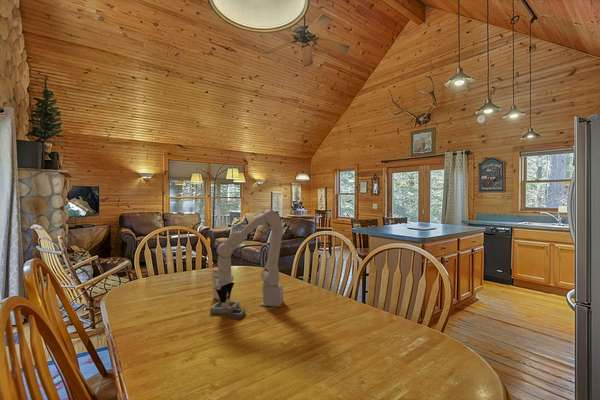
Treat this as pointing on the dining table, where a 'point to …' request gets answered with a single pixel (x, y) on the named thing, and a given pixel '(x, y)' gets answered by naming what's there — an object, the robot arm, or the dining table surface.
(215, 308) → the parts tray
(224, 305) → the cylinder
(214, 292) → the syrup box
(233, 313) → the fuse socket
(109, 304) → the dining table surface
